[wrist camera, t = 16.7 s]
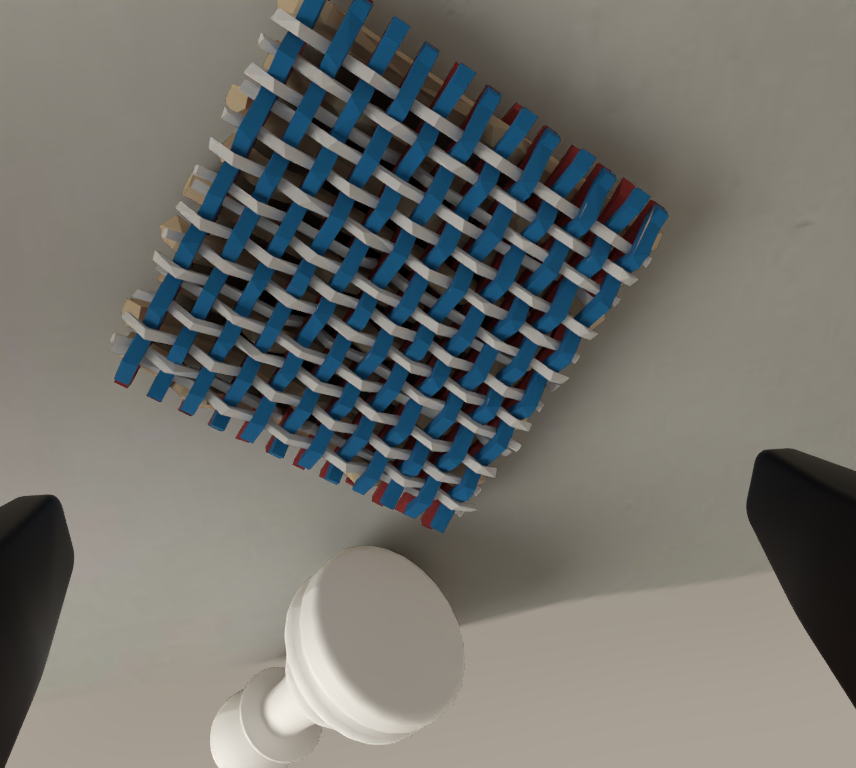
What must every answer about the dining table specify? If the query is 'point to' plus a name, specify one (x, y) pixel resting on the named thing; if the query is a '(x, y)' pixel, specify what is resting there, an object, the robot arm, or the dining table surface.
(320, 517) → the dining table surface
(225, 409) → the woven mat
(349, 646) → the chess pawn
